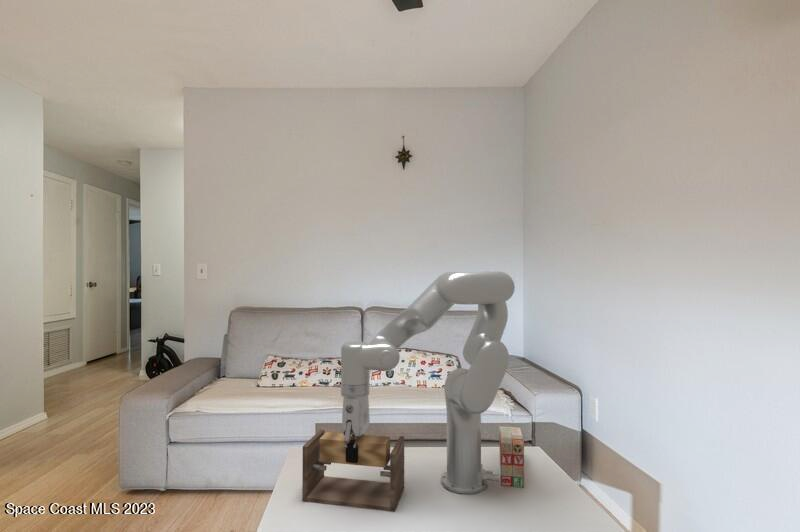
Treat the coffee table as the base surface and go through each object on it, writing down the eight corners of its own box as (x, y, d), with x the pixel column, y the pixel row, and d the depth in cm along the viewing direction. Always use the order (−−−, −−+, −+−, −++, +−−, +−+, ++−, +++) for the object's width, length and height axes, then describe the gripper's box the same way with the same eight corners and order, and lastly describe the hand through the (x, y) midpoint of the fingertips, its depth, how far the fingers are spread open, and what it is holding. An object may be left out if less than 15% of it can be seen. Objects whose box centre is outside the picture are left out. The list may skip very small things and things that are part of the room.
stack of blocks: (499, 454, 140) (498, 416, 140) (519, 456, 139) (518, 417, 139) (500, 486, 119) (500, 441, 119) (524, 488, 118) (524, 443, 118)
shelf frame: (404, 487, 118) (404, 436, 118) (394, 511, 106) (394, 454, 106) (320, 479, 123) (320, 429, 123) (302, 501, 111) (302, 446, 111)
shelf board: (390, 459, 115) (390, 436, 115) (385, 467, 110) (385, 444, 110) (326, 453, 119) (326, 432, 119) (319, 461, 114) (319, 438, 114)
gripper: (359, 398, 106) (359, 473, 105) (376, 381, 122) (376, 446, 122) (330, 397, 107) (330, 470, 107) (351, 380, 124) (351, 444, 124)
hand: (355, 456), depth 115 cm, fingers closed on shelf board, 5 cm apart
